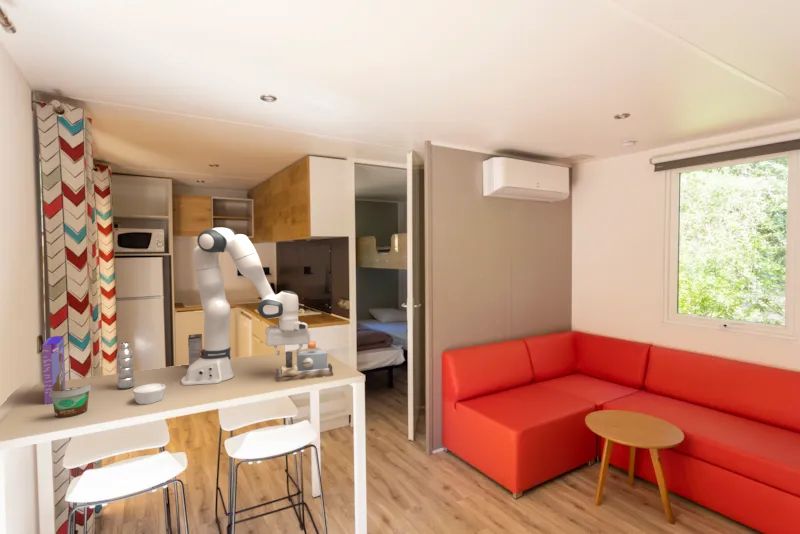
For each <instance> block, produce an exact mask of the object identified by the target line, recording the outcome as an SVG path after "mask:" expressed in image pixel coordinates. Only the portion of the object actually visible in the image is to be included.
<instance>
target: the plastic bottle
mask: <svg viewBox="0 0 800 534" xmlns="http://www.w3.org/2000/svg"><path fill="white" fill-rule="evenodd" d="M134 357H135V352H134V351H133V350H132V349H131V342H130V341H129V342H128V341H127V342H126V341H125V342H121V343H119V350H118V351H117V353H116V362H117V368H118V369H117V370H118V374H117V375H118V377H117V382H116V383H117V387H118V388H119V389H129V388H132V387H133V386H134V385H135V384H136V377H135V375H134V359H135V358H134Z"/></svg>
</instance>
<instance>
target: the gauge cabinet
mask: <svg viewBox="0 0 800 534" xmlns="http://www.w3.org/2000/svg"><path fill="white" fill-rule="evenodd" d="M296 366H297V368H298V371H306V370H316V369H325V368H328V352H327V351H326V350H325V349H316V350H315V349H314V350H305V351H300V354H297V353H296Z"/></svg>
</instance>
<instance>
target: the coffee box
mask: <svg viewBox="0 0 800 534" xmlns="http://www.w3.org/2000/svg"><path fill="white" fill-rule="evenodd" d="M187 339H188V342H187V343H188V344H187V345H188V367H189V366H190V365H191V364H193V363H194V362H195V361H196V360H198V359H199V358H200V352H199V351H200V349H203V335H202V333H198V334H197V333H193V334H189V335H188V337H187Z"/></svg>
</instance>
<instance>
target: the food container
mask: <svg viewBox="0 0 800 534" xmlns="http://www.w3.org/2000/svg"><path fill="white" fill-rule="evenodd" d="M91 390H92V386H91V384H90V383H88V385H86V386H79V387H70V388H68V387H67V388H65V390H60V391H52V390H51V391H50V394H49V396H50V397H52V401H53V403H52V405H53V410H54V411H53V412H54V416H55V418H56V419H57V418H58V419H67V418H72V417H76V416H80V415H82V414H84V413H86V412H87V411H88V406H89V396H90V395H89V394H90V391H91Z"/></svg>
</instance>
